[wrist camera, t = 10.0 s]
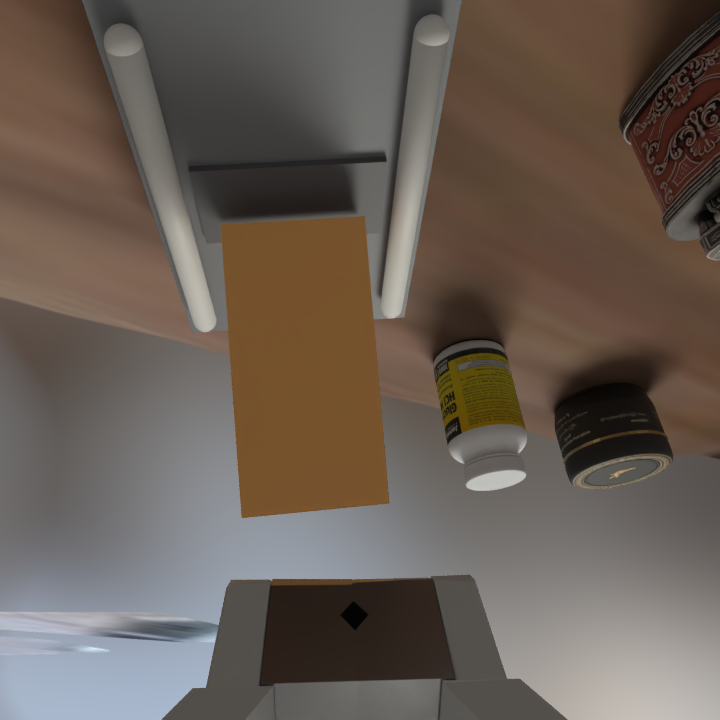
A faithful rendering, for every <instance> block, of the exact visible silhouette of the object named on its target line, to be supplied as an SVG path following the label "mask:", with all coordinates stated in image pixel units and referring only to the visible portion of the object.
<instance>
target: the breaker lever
mask: <svg viewBox="0 0 720 720" xmlns="http://www.w3.org/2000/svg"><path fill="white" fill-rule="evenodd" d="M221 238H222V252H223V266H224V280H225V293H226V307H227V321H228V335H229V349H230V361H231V375H232V390H233V404H234V418H235V430H236V445H237V459H238V472H239V487H240V500H241V514H242V518H247V517H255V516H256V517H257V516H265V515H266V516H267V515H277V514H287V513H297V512H307V511H317V510H326V509H336V508H347V507H357V506H368V505H377V504H387V503H389V493H388V481H387V471H386V459H385V446H384V434H383V423H382V411H381V399H380V387H379V376H378V364H377V352H376V341H375V329H374V317H373V306H372V294H371V282H370V270H369V259H368V247H367V235H366V224H365V216H357V217H340V218H322V219H305V220H288V221H270V222H253V223H236V224H221Z"/></svg>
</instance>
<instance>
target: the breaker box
mask: <svg viewBox="0 0 720 720" xmlns="http://www.w3.org/2000/svg"><path fill="white" fill-rule="evenodd" d="M461 1H462V0H82V2H83V5H84V8H85V11H86V14H87V17H88V20H89V23H90V26H91V29H92V32H93V35H94V38H95V41H96V44H97V47H98V50H99V53H100V56H101V59H102V62H103V65H104V68H105V71H106V74H107V77H108V80H109V83H110V86H111V89H112V92H113V95H114V98H115V101H116V104H117V107H118V110H119V113H120V116H121V119H122V122H123V125H124V128H125V131H126V134H127V137H128V140H129V143H130V146H131V149H132V152H133V155H134V158H135V161H136V164H137V167H138V170H139V173H140V176H141V179H142V182H143V185H144V188H145V191H146V194H147V197H148V200H149V203H150V206H151V209H152V212H153V215H154V218H155V221H156V224H157V227H158V230H159V233H160V236H161V239H162V242H163V245H164V248H165V251H166V254H167V257H168V260H169V263H170V266H171V269H172V272H173V275H174V278H175V281H176V284H177V287H178V290H179V294H180V297H181V300H182V303H183V306H184V309H185V312H186V315H187V318H188V321H189V324H190V327H191V330H192V333H194V332H208V331H222V330H228V321H227V307H226V293H225V280H224V266H223V252H222V238H221V224H236V223H253V222H270V221H288V220H305V219H322V218H340V217H357V216H365V224H366V235H367V247H368V259H369V270H370V282H371V294H372V306H373V317H374V319H387V318H401V317H404V315H405V310H406V304H407V299H408V293H409V288H410V282H411V277H412V271H413V265H414V260H415V254H416V249H417V243H418V238H419V232H420V227H421V221H422V216H423V210H424V205H425V199H426V194H427V188H428V183H429V177H430V172H431V166H432V161H433V155H434V150H435V144H436V139H437V133H438V128H439V122H440V117H441V111H442V106H443V100H444V95H445V89H446V84H447V78H448V73H449V67H450V62H451V56H452V51H453V45H454V40H455V34H456V29H457V23H458V18H459V12H460V7H461Z"/></svg>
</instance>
